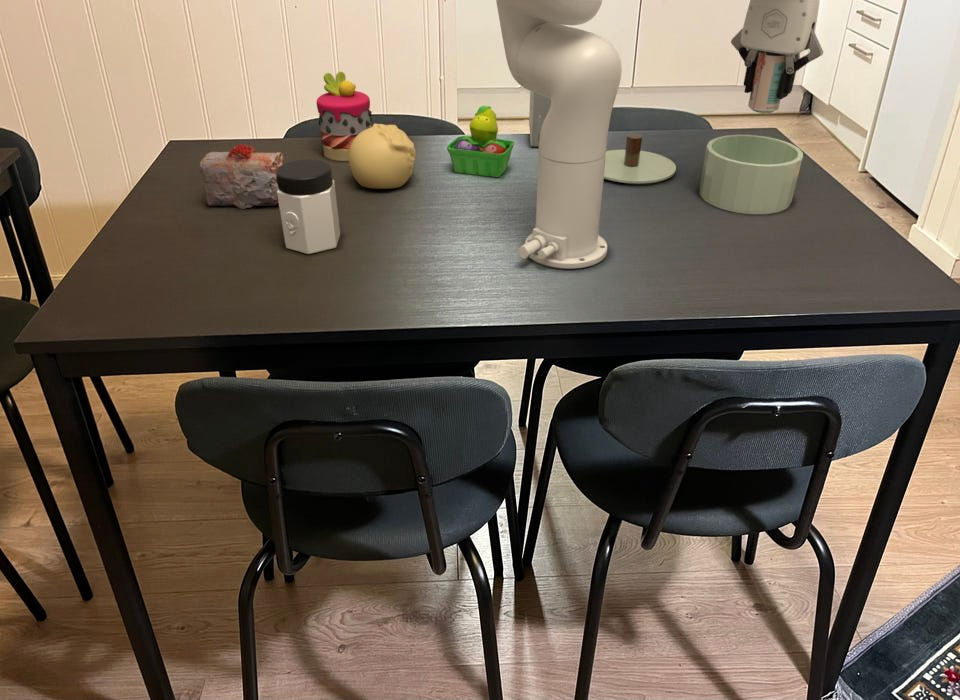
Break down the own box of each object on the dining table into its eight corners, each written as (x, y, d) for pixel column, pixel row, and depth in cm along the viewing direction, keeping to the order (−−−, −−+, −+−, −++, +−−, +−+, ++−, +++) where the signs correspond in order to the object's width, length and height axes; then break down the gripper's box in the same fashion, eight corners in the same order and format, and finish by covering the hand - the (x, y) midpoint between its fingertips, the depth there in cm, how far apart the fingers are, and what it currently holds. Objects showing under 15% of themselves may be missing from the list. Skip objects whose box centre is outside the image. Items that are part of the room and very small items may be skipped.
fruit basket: (445, 174, 143) (444, 114, 136) (461, 158, 149) (460, 100, 143) (503, 181, 139) (504, 120, 133) (516, 165, 146) (518, 106, 140)
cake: (385, 149, 154) (379, 73, 145) (351, 165, 146) (343, 86, 138) (345, 140, 158) (338, 66, 150) (311, 155, 151) (300, 78, 143)
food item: (293, 192, 135) (284, 138, 130) (284, 210, 129) (275, 154, 123) (216, 193, 135) (205, 139, 129) (203, 211, 128) (191, 155, 123)
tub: (769, 222, 124) (781, 173, 120) (683, 198, 133) (691, 151, 128) (804, 194, 134) (816, 147, 130) (722, 173, 143) (731, 128, 138)
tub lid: (647, 194, 134) (651, 158, 131) (569, 172, 143) (571, 137, 140) (691, 168, 145) (696, 134, 141) (616, 149, 154) (619, 116, 150)
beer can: (754, 103, 128) (769, 28, 121) (782, 109, 125) (799, 32, 119) (742, 110, 125) (757, 33, 118) (771, 116, 122) (787, 37, 115)
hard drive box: (568, 148, 154) (574, 45, 143) (530, 148, 154) (534, 45, 143) (562, 124, 167) (568, 28, 156) (528, 124, 167) (531, 28, 156)
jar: (274, 246, 117) (261, 172, 111) (308, 226, 123) (298, 155, 117) (319, 259, 114) (308, 183, 107) (352, 238, 120) (344, 165, 113)
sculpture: (425, 190, 136) (422, 131, 130) (360, 200, 132) (354, 139, 126) (406, 168, 145) (403, 112, 139) (345, 177, 141) (339, 119, 135)
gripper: (727, -32, 116) (707, 90, 126) (840, -21, 106) (809, 109, 117) (748, -37, 120) (727, 80, 130) (858, -27, 111) (826, 98, 121)
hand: (766, 93), depth 123 cm, fingers closed on beer can, 4 cm apart
